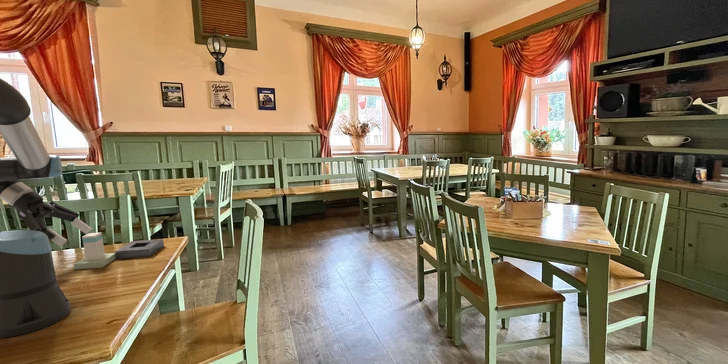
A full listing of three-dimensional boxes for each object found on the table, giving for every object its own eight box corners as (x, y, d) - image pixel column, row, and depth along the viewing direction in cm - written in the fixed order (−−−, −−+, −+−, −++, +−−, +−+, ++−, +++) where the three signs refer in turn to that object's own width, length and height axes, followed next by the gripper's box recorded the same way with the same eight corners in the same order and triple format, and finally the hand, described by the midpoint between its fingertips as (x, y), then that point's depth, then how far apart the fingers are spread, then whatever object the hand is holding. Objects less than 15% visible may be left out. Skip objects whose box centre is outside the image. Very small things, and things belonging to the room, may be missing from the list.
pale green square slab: (102, 267, 121) (101, 261, 121) (74, 269, 120) (73, 263, 120) (117, 257, 130) (116, 252, 130) (91, 259, 129) (90, 254, 129)
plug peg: (99, 265, 123) (94, 235, 122) (86, 266, 123) (81, 236, 121) (106, 260, 127) (101, 232, 126) (94, 261, 127) (89, 233, 125)
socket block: (150, 256, 130) (149, 249, 130) (116, 259, 129) (114, 251, 128) (163, 245, 142) (163, 239, 142) (132, 248, 141) (131, 241, 140)
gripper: (43, 199, 132) (92, 234, 136) (-19, 215, 107) (43, 257, 112) (56, 184, 132) (104, 220, 136) (-3, 197, 107) (59, 240, 112)
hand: (77, 237), depth 124 cm, fingers open, 13 cm apart
